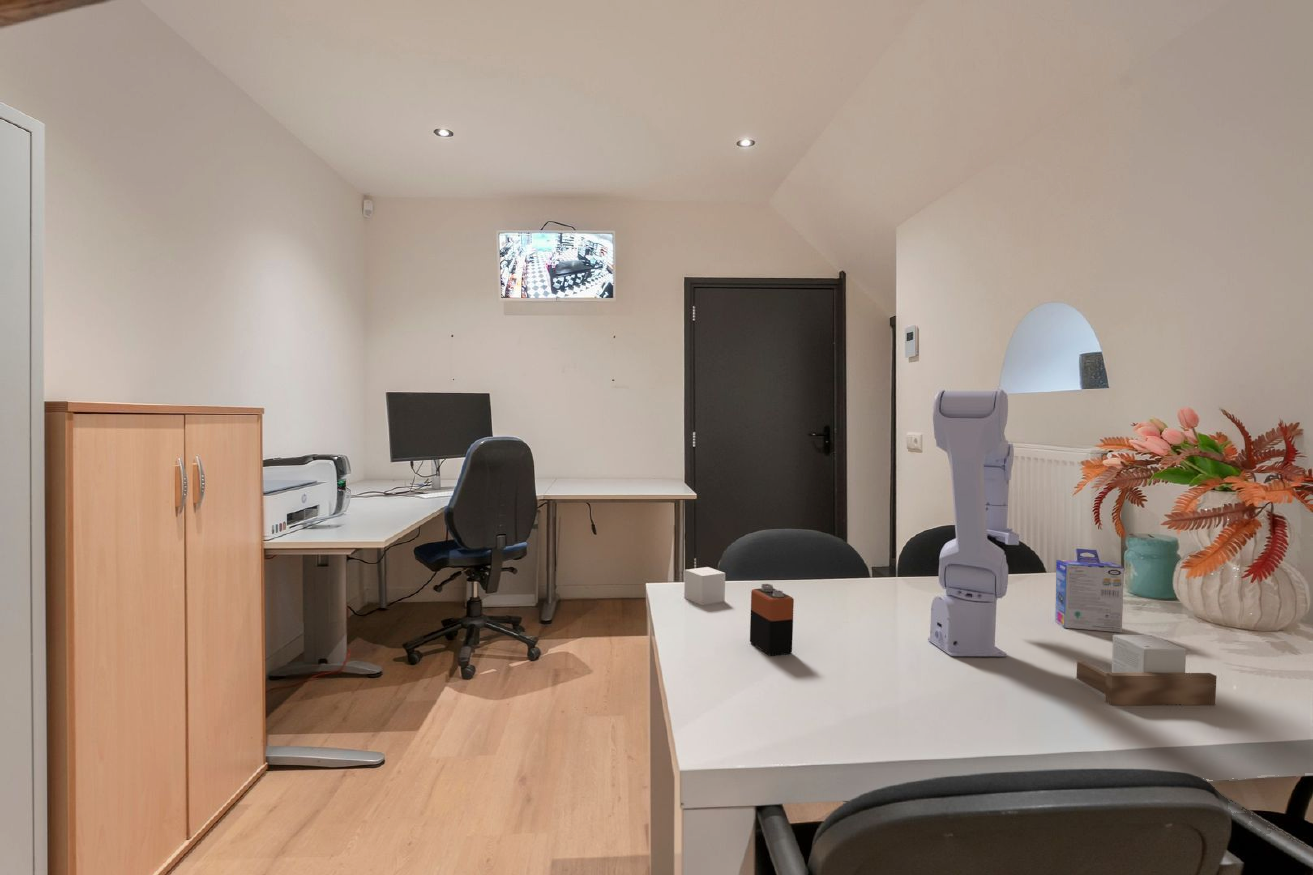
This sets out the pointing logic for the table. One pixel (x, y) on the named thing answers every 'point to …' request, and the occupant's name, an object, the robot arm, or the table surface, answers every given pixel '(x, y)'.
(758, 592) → the battery
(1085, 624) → the ink cartridge box
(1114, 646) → the product box
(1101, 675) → the walnut holder
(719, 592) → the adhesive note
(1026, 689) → the table surface
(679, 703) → the table surface
